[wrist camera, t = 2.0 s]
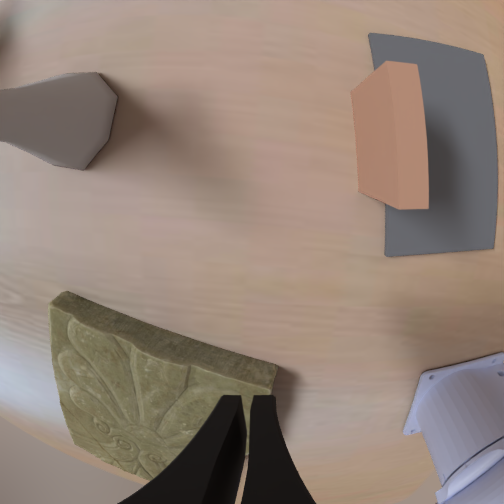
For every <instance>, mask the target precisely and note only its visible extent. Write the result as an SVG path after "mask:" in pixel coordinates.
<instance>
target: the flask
mask: <svg viewBox="0 0 504 504" xmlns="http://www.w3.org/2000/svg"><path fill="white" fill-rule="evenodd" d="M117 98H118V97H117V95H116V94H115V93H114V92H113V91H112V90H111V89H110V87H109V86H108V85H107V84H106V83H105V82H104V80H103V79H102V78H101V77H100V76H99V75H98V73H97V72H88V73H67V74H62V75H58V76H54V77H51V78H48V79H44V80H41V81H38V82H34V83H30V84H26V85H23V86H19V87H16V88H12V89H3V90H0V141H1V142H6V143H8V144H10V145H12V146H15V147H17V148H19V149H21V150H24V151H26V152H28V153H30V154H32V155H34V156H36V157H38V158H40V159H42V160H44V161H46V162H48V163H50V164H52V165H54V166H60V167H66V168H72V169H78V170H84V169H85V168H86V167H87V165H88V164H89V163H90V162H91V160H92V159H93V158H94V157H95V155H96V154H97V153H98V152H99V150H100V149H101V148H102V147H103V146H104V145H105V143H106V142H107V141H108V140H109V136H110V130H111V125H112V120H113V116H114V111H115V107H116V102H117Z"/></svg>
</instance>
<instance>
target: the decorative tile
mask: <svg viewBox="0 0 504 504" xmlns="http://www.w3.org/2000/svg"><path fill="white" fill-rule="evenodd" d="M48 319H49V333H50V343H51V352H52V363H53V369H54V375H55V380H56V384H57V389H58V393H59V397H60V405H61V408H62V411H63V415H64V418H65V421H66V424H67V427H68V429H69V432H70V435H71V437H72V439H73V442H74V444H75V445H77V446H79V447H81V448H83V449H84V450H86V451H88V452H89V453H91V454H93V455H94V456H96V457H98V458H100V459H101V460H102V461H104V462H106V463H108V464H111V465H113V466H116V467H118V468H120V469H122V470H124V471H126V472H129V473H131V474H135V475H137V476H138V477H141V478H144V479H146V480H150V481H151V480H152V479H154V478H155V477H156V476H157V475H158V474H159V473H161V472H162V471H163V470H164V469H165V468H166V467H167V466H168V465H169V464H170V463H171V462H172V461H173V460H174V459H175V458H176V457H177V456H178V455H179V454H180V452H181V451H182V450H183V449H184V448H185V447H186V446H187V444H188V443H189V442H190V441H191V440H192V438H193V437H194V436H195V435H196V433H197V432H198V431H199V429H200V428H201V427H202V425H203V424H204V422H205V421H206V420H207V418H208V417H209V415H210V414H211V412H212V411H213V409H214V407H215V406H216V404H217V403H218V401H219V399H220V397H221V396H223V395H241V397H242V403H243V409H244V415H245V421H246V427H247V442H246V453H245V455H248V454H249V427H250V409H251V404H252V400H253V396H254V395H271V393H272V387H273V383H274V379H275V377H276V374H277V369H278V366H277V365H276V364H272V363H269V362H265V361H262V360H258V359H255V358H251V357H248V356H245V355H241V354H238V353H235V352H231V351H228V350H225V349H222V348H218V347H215V346H212V345H209V344H206V343H203V342H200V341H197V340H194V339H191V338H188V337H185V336H182V335H179V334H176V333H173V332H171V331H168V330H165V329H162V328H159V327H156V326H153V325H151V324H148V323H145V322H142V321H140V320H137V319H135V318H132V317H129V316H127V315H124V314H122V313H119V312H117V311H114V310H112V309H109V308H107V307H104V306H102V305H99V304H97V303H94V302H92V301H89V300H87V299H85V298H83V297H80V296H78V295H76V294H74V293H71V292H69V291H65V292H62V293H60V295H59V296H57V297H56V298H55V299H54V300H52V301H51V302H50V303H49V304H48Z"/></svg>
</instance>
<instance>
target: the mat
mask: <svg viewBox="0 0 504 504" xmlns="http://www.w3.org/2000/svg"><path fill="white" fill-rule="evenodd" d="M368 37H369V42H370V47H371V53H372V58H373V64H374V70H376V69H377V68H378V67H380V66H381V65H382V64H383V63H384V62H385V61H394V62H403V63H411V64H417V66H418V72H419V78H420V84H421V91H422V98H423V106H424V114H425V124H426V136H427V150H428V175H429V209H401V210H399V209H396V208H394V207H392V206H390V205H388V204H386V203H385V256H386V257H390V256H404V255H418V254H431V253H444V252H457V251H469V250H481V249H493V248H494V239H495V228H496V215H497V191H498V167H497V143H496V130H495V120H494V111H493V103H492V96H491V90H490V84H489V79H488V73H487V69H486V64H485V59H484V55H483V54H480V53H476V52H473V51H469V50H466V49H462V48H458V47H454V46H450V45H445V44H441V43H436V42H431V41H426V40H420V39H415V38H408V37H402V36H394V35H386V34H377V33H369V34H368Z"/></svg>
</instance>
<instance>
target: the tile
mask: <svg viewBox="0 0 504 504" xmlns="http://www.w3.org/2000/svg"><path fill="white" fill-rule="evenodd" d="M351 99H352V108H353V117H354V128H355V139H356V153H357V168H358V190H359V192H361V193H363V194H365V195H368V196H370V197H372V198H375V199H377V200H379V201H381V202H383V203H386V204H388V205H390V206H392V207H394V208H396V209H399V210H401V209H429V175H428V150H427V136H426V124H425V114H424V106H423V98H422V91H421V84H420V78H419V72H418V66H417V64H411V63H403V62H394V61H385V62H384V63H383V64H382V65H381V66H380V67H378V68H377V69H376V70H375V71H374V72H373V73H372V74H370V75H369V76H368V77H367V78H366V79H365V80H364V81H363V82H361V83H360V84H359V85H358V86H357V87H356V88H355V89H354V90H353V91H351Z"/></svg>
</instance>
